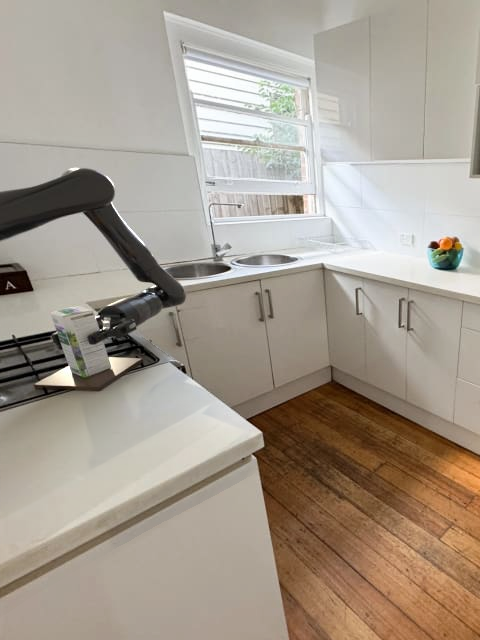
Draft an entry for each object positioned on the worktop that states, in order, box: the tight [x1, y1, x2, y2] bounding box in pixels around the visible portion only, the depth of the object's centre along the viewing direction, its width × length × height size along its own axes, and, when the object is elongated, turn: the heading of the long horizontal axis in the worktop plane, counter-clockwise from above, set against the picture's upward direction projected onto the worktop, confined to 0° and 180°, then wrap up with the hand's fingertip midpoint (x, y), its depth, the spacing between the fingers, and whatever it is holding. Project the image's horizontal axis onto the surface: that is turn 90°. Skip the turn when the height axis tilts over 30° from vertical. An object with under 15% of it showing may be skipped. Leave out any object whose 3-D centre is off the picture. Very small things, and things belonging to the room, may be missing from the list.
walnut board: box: [33, 356, 144, 392], centre depth 88 cm, size 14×14×1 cm
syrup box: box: [49, 305, 111, 378], centre depth 84 cm, size 6×6×14 cm
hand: (72, 340), depth 82 cm, fingers closed on syrup box, 7 cm apart
